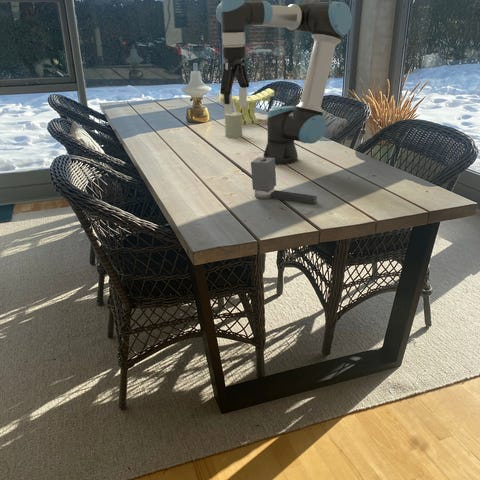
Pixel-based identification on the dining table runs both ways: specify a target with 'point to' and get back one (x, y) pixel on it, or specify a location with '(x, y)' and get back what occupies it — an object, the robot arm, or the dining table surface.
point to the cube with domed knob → (263, 173)
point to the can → (233, 125)
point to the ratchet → (285, 196)
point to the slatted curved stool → (247, 113)
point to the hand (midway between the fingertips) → (236, 109)
